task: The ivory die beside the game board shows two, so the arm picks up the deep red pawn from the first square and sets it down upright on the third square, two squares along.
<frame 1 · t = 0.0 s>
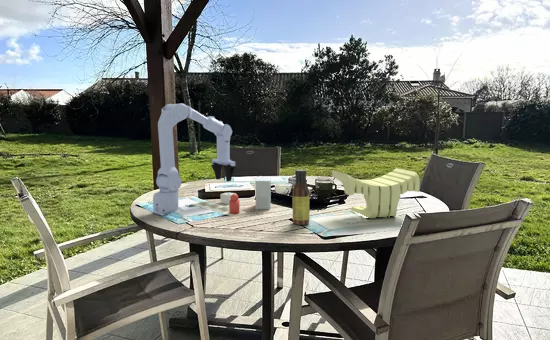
hand: (223, 180, 169), 10 cm above the table, tool pointing down, fingers open, 7 cm apart
board: (218, 210, 154), on the table
small box: (263, 209, 157), on the table
pawn: (234, 212, 147), point 1 cm above the table, touching board
slatted curved stool: (373, 215, 150), on the table
sauce bottle: (300, 223, 136), on the table
die: (228, 204, 165), on the table
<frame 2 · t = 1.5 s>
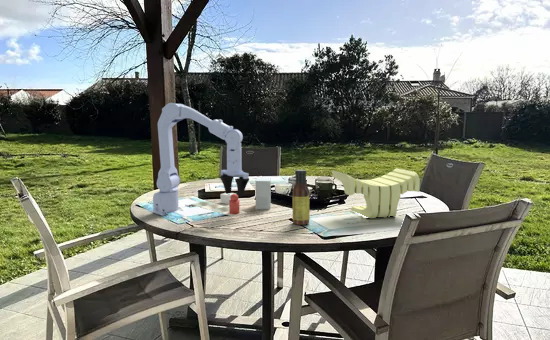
hand: (234, 194, 146), 8 cm above the table, tool pointing down, fingers open, 7 cm apart
nothing on the table moved.
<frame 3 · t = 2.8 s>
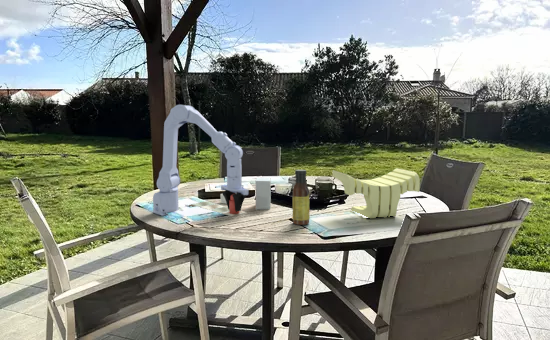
hand: (234, 210, 146), 2 cm above the table, tool pointing down, fingers closed on pawn, 4 cm apart
pawn: (234, 212, 147), point 1 cm above the table, touching board, gripper
everything else where it was.
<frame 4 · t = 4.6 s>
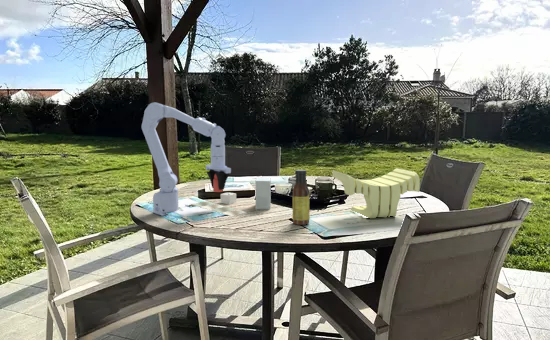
hand: (218, 188, 152), 9 cm above the table, tool pointing down, fingers closed on pawn, 4 cm apart
pawn: (218, 191, 153), point 8 cm above the table, touching gripper
everything else where it was.
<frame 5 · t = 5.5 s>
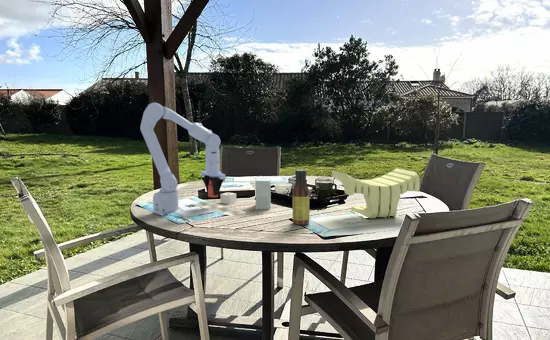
hand: (213, 194, 155), 6 cm above the table, tool pointing down, fingers closed on pawn, 4 cm apart
pawn: (213, 196, 156), point 5 cm above the table, touching gripper
everything else where it was.
when the fingers open (4 cm above the table, at t = 6.4 s): pawn drops 2 cm, resting on board.
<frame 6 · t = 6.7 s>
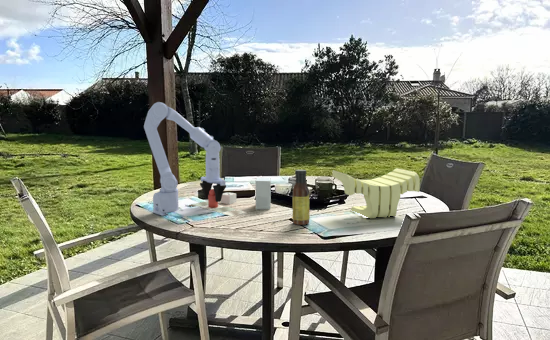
hand: (213, 200, 156), 4 cm above the table, tool pointing down, fingers open, 7 cm apart
pawn: (213, 206, 156), point 1 cm above the table, touching board
everything else where it was.
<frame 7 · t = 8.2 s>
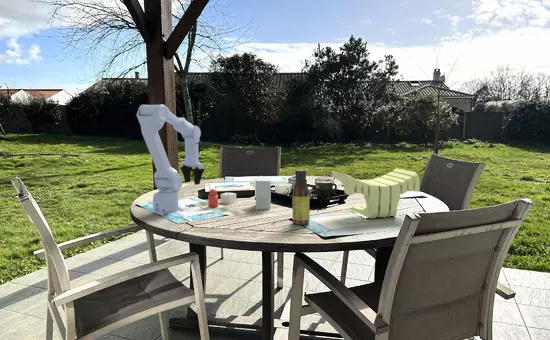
hand: (192, 183, 164), 9 cm above the table, tool pointing down, fingers open, 7 cm apart
nothing on the table moved.
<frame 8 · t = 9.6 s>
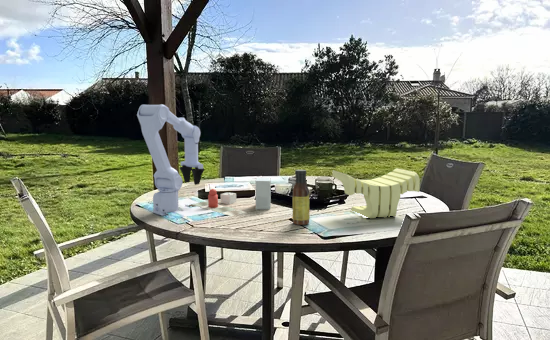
hand: (192, 183, 164), 9 cm above the table, tool pointing down, fingers open, 7 cm apart
nothing on the table moved.
at the end: pawn 0.1 cm from the target spot on the board, point 1.0 cm above the board's base; pawn tilted 1°; the gripper is holding nothing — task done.
